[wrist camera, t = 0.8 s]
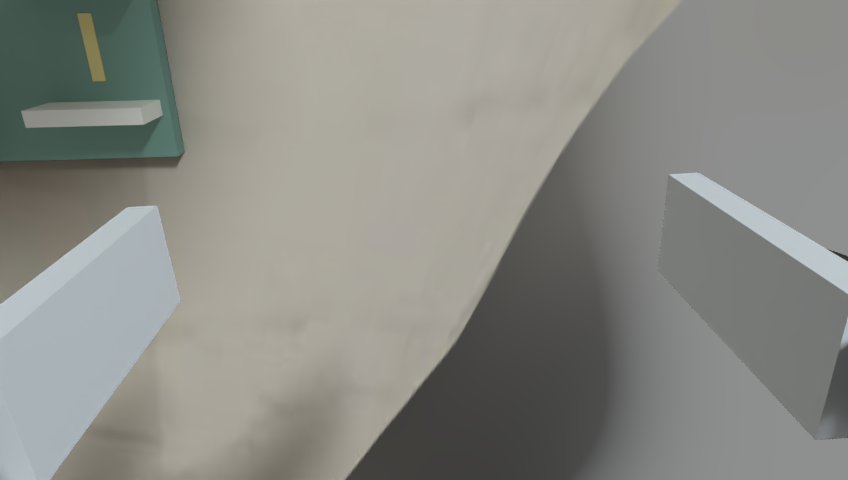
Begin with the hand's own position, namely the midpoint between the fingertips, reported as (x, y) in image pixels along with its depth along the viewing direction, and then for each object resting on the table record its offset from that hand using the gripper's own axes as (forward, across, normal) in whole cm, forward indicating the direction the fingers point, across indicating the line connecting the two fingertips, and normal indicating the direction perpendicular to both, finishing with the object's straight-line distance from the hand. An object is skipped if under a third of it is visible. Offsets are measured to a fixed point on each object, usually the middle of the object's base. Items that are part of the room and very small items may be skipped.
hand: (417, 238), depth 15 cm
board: (+26, -26, +3) cm, 37 cm away
